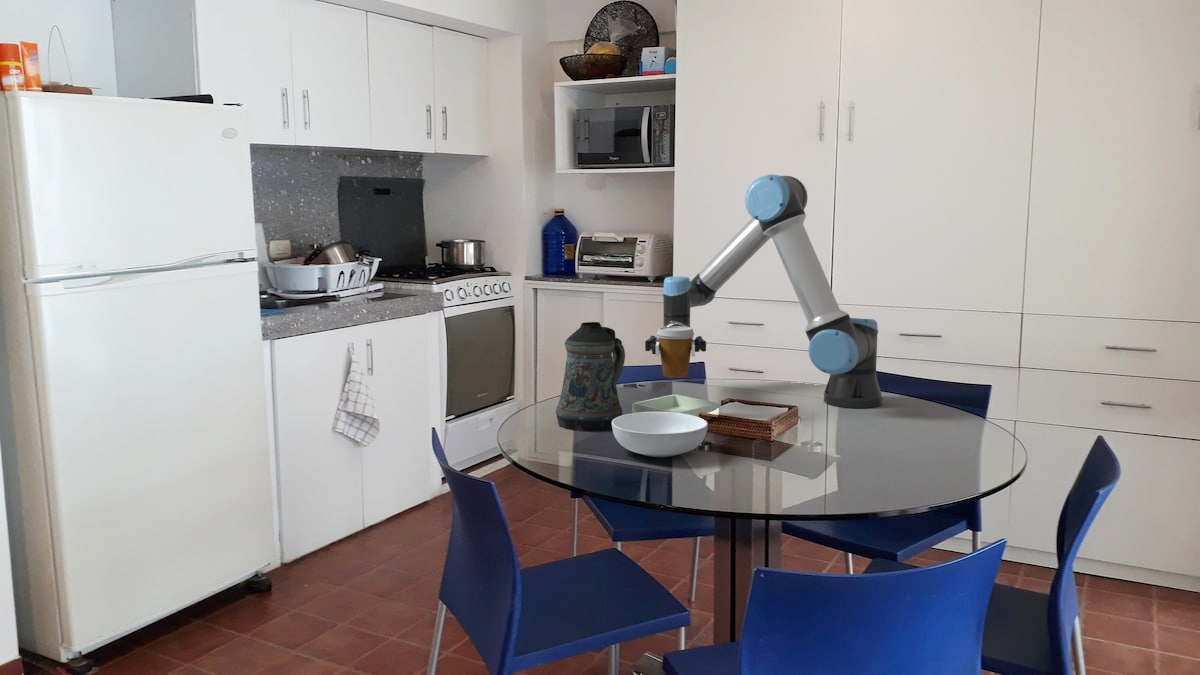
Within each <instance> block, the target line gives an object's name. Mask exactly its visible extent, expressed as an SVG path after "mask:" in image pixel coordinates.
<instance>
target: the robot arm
mask: <svg viewBox="0 0 1200 675" xmlns="http://www.w3.org/2000/svg"><path fill="white" fill-rule="evenodd" d="M808 199H809V198H808V191H807V188H806V187H805V184H804V183H803V182H802V181H801V180H799V179H798V178H796V177H794V176H792V175H791V176H789V175H778V174H767V175H763V176H760V177H758V178H757V179H754V180H753V181H752V182H751V183H750V185H749V186H748V188H747V189H746V193H745V196H744V205H745V208H746V210H747V213H748V215H750V217H751V218H750V219H749V220H748V222H746V224H745V225H744V226H743V227H742V228H741V229H740V230H739V231H738V232H737V233H736V234H735V235H734V236H733V237H732V238H731V239H730V240H729V241H728V242H727V243H726V244H725V245H724V247H723V248H721V249H720V250H719V251H718V253H717V254H716V255H715V256H714V257H712V259H711V260H710V261H709V262H708V263H707V264H706V265H704V267H703V268H702V269H701V270H700V271H699V272H698V273H697V274H696V275H695V276H694V277H693V279H690V277H689V276H678V275H675V276H666V277H665V278H664V280H663V289H662V292H663V293H662V294H663V299H662V300H663V301H662V302H663V327H667V326H684V327H691V309H692V308H695V307H703V306H706V305H708V304H709V303H711V302H713V300H714V299H715V296H716V293H718V291H719V290H720V289H721V288H722V287H723V285H725V284H726V283H727V282H728V281H729V280H730V279H731V278H732V277H733V276H734V275H735V274H736V273H737V272H738V271H739V270H740V269H741V268H742V267H743V266H744V265H746V263H747V262H748V261H749V260H750V259H751V258H752V257H753V256H754V255H756V253H757V252H758V251H759V250H760V249H761V248H762V247H763V246H764V245H765V244H767V242H769V240H770V239H772V242H773V244H774V246H775V248H776V250H777V253H778V255H779V258H780V259H781V262H782V264H783V265H782V266H783V267H784V269H785V272H786V273H787V276H788V278H789V281H790V284H791V286H792V288H793V290H794V292H795V295H796V297H797V300H798V302H799V304H800V307H801V309H802V312H803V314H804V316H805V319H806V321H807V325H806V327H805V333H806V336H807V339H808V341H809V346H808V356H809V359H810V361H811V363H812V365H813V366H815V368H817V369H818V370H819V371H820V372H822V373H825V374H827V375H829V379H828V381H827V384H826V387H825V389H824V392H823V401H824V402H825V403H826V404H828V405H831V406H834V407H835V406H836V407H842V408H849V409H850V408H853V409H856V408H857V409H866V408H875V407H878V406H881V405H882V404H883V394H882V391H881V387H880V384H879V381H878V377H877V360H878V359H877V358H878V357H877V356H878V355H877V352H878V334H879V329H878V323H877V321H876V319H873V318H860V317H859V318H856V317H855V318H854V317H851V316H850V314H849V313H848V312H846V311H844V310H842V309H840V307H839V304H838V302H837V300H836V297H835V295H834V293H833V290H832V287H831V286H830V283H829V281H828V279H827V276H826V273H825V272H824V270H823V266H822V264H821V262H820V260H819V257H818V256H817V253H816V251H815V249H814V246H813V243H812V242H811V239H810V237H809V234H808V232H807V229H806V228H805V224H804V221H805V220H806V217H807V215H806V212H805V208H806V206H807V203H808ZM644 345H645V346H644V348H645V352H650V351H651V353H652V355H655V357H659V356H660V346H659V339H658V336H654V335H651V336H650V337H649V338H648V339H646V340H645V342H644ZM700 351H701V352H703V353H705V352H706V351H707V341H706V340H705V339H703V337H702V336H700V335H699V336H694V338H692V346H691V357H695V356H696V355H695V353H700Z"/></svg>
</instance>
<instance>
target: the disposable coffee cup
mask: <svg viewBox="0 0 1200 675" xmlns="http://www.w3.org/2000/svg"><path fill="white" fill-rule="evenodd" d="M656 336H657V339H659V346H660V352H659V355H660V361H661V370H662V376H663V377H666V378H671V379H672V378H685V377H688V376H689V368H690V363H691V362H690V361H691V355H692V350H691V346H692V339H694V336H695V332H694V329H693V327H691V326H690V327H684V326H667V327H664V326H660V327H658V329H657V332H656Z"/></svg>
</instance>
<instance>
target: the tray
mask: <svg viewBox="0 0 1200 675" xmlns="http://www.w3.org/2000/svg"><path fill="white" fill-rule="evenodd" d="M631 408H632V409H631V410H632V413H639V412H674V413H683V414H688V415H693V416H697V417H698V415H699V413H701V412H711V411H714V410H716V409H717V408H719V409H720V402H715V401H710V400H705V399H701V398H695V397H691V396H685V395H682V394H681V395H680V394H675V393H674V394H670V395H664V396H660V397H659V396H658V397H655V398H651V399H646V400H641V401H636V402H632V405H631Z"/></svg>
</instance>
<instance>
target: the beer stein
mask: <svg viewBox="0 0 1200 675" xmlns="http://www.w3.org/2000/svg"><path fill="white" fill-rule="evenodd" d="M564 347H565V350H566V359H565V360H566V361H565V368H564V375H563V382H562V387H561V392H560V395H559V396H560V397H559V400H558V404H557V406H556V409H555V415H556V418H557V424H558V426H559V427H561V428H563V429H566V430H570V431H576V432H599V431H606V430H611V429H612V421H613V420H614V419H615V418H617V417H619V416H622V415H623V408H622V406H621V403H620V400H619V397H618V389H617V382H618V380H619V378H620V377H621V374H622V371H623V369H624V365H625V360H626V353H625V347H624V345H623V342H622V340H621V339H620V338H618V337H616V331H615V330H614V329H613V328H610V327H607V326H602V324H601V322H598V321H588V322H587V321H586V322H581V323H580V327H579V328H578V329H576V330H575V331H574V332H573V333H572V334H571V335H569V336H568V337H566V339H565V341H564Z"/></svg>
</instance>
